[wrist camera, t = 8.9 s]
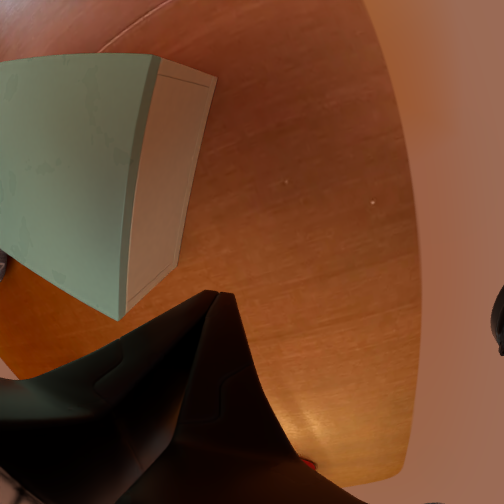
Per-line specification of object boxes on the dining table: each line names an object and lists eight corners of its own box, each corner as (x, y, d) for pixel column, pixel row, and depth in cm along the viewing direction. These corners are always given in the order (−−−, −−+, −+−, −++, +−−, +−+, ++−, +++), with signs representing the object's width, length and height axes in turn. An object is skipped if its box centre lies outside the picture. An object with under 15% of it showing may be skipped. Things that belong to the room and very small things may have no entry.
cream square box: (54, 214, 24) (-1, 239, 18) (71, 65, 19) (7, 62, 12) (177, 266, 23) (126, 314, 17) (218, 77, 17) (162, 57, 11)
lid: (-5, 236, 18) (-12, 240, 18) (2, 63, 13) (-7, 63, 12) (125, 314, 17) (118, 321, 16) (162, 57, 11) (152, 54, 10)
